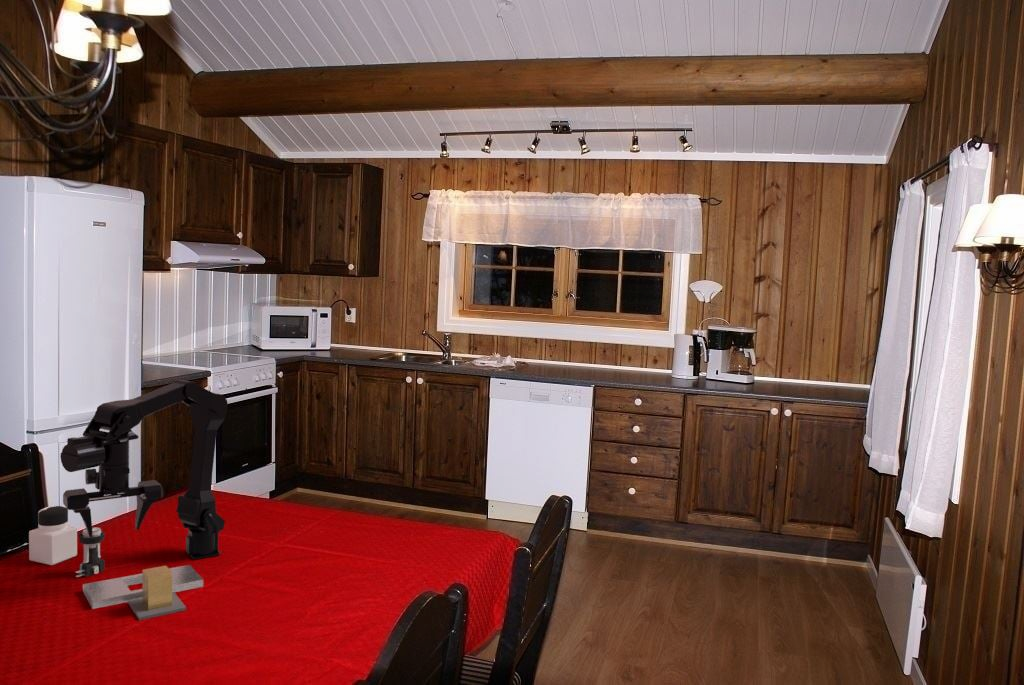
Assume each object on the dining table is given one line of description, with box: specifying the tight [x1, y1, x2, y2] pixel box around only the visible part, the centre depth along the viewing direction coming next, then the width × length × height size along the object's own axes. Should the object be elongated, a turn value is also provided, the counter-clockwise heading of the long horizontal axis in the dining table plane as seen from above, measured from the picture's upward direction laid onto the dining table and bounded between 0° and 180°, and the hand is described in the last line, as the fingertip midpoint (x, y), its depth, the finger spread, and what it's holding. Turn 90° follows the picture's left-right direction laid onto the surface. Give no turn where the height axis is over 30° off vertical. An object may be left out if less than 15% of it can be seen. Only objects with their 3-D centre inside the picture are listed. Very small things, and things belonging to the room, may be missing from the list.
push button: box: [75, 526, 106, 578], centre depth 182 cm, size 7×5×10 cm
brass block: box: [141, 565, 172, 611], centre depth 167 cm, size 5×5×7 cm
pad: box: [127, 592, 187, 621], centre depth 168 cm, size 9×9×1 cm
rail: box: [82, 564, 204, 610], centre depth 176 cm, size 22×10×2 cm, turn 128°
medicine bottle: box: [28, 505, 78, 566], centre depth 189 cm, size 7×7×12 cm
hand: (114, 533), depth 175 cm, fingers open, 9 cm apart
